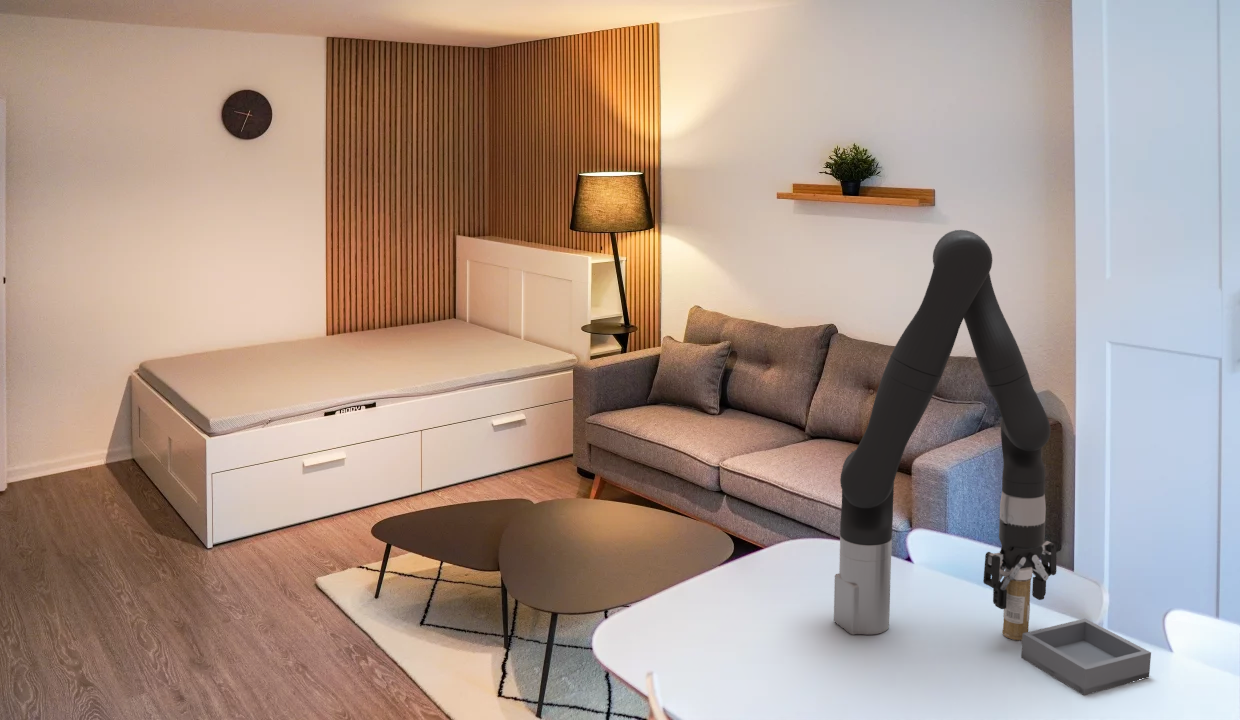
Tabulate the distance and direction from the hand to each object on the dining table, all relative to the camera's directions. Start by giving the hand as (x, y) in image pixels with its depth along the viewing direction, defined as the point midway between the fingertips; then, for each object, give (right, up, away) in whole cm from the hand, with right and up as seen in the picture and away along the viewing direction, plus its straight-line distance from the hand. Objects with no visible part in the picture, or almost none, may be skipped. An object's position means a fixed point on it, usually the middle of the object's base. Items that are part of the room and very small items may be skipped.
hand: (1019, 602), depth 188 cm
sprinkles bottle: (0, -6, +2) cm, 7 cm away
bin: (+7, -8, -11) cm, 15 cm away
